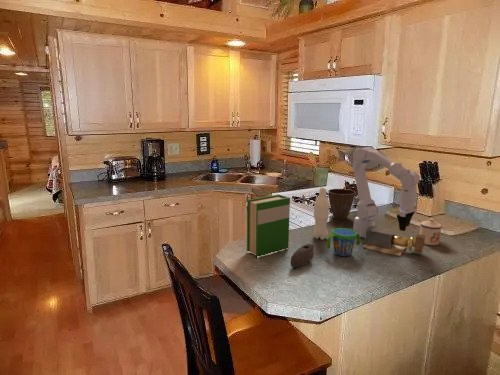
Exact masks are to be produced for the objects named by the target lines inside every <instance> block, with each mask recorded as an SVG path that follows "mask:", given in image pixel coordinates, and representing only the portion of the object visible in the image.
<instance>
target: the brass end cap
mask: <svg viewBox="0 0 500 375" xmlns="http://www.w3.org/2000/svg"><path fill="white" fill-rule="evenodd" d="M424 242H425V235H421V234H420V233H417V234H416V236H410V238H408V237H404V236H399V235H395V236H394V235H393V236H392V241H391V245H396V246H401V247H405V249H408V251H409V252H412V251H414V253H416V254H417V253H418V254H423V252H424V249H425V244H424Z"/></svg>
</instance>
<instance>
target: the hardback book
mask: <svg viewBox="0 0 500 375" xmlns="http://www.w3.org/2000/svg"><path fill="white" fill-rule="evenodd" d="M246 203H247V204H246V252H247V251H250V252H252V253H254V254H256V255H255V257H256V256H261V255H265V254H268V253H271V252H275V251H279V250H282V249H286V248H288V249H289V238H290V214H291V213H290V211H291V210H290V208H291V207H290V206H291V197H289V196H285V195H282V194H272V195H268V196H262V197H256V198H251V199H246ZM252 253H251V254H252ZM254 254H253V255H254Z"/></svg>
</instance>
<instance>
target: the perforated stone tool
mask: <svg viewBox="0 0 500 375" xmlns="http://www.w3.org/2000/svg"><path fill="white" fill-rule="evenodd" d="M314 255H315V254H314V245H313V244H311V243H307V244H305V245H302V246H301V247H299V248H298V249H297V250H296V251H295V252H294V253H293V254H292V256H291V258H290V266H291V267H292V268H293V269H295V268H301V267H302V266H305V265H307V264H308V263H309V262H311V261H312V260H313V258H314Z"/></svg>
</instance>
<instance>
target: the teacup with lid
mask: <svg viewBox="0 0 500 375" xmlns="http://www.w3.org/2000/svg"><path fill="white" fill-rule="evenodd" d="M419 225H420V226H419V234H421V235H425V242H424V245H427V246H437V245H439V244H440V238H441V231H442V228H443V227H442V224H440V223H439V222H437V221H435V219H434V218H429V220H423V221H421V222H420V224H419Z"/></svg>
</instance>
